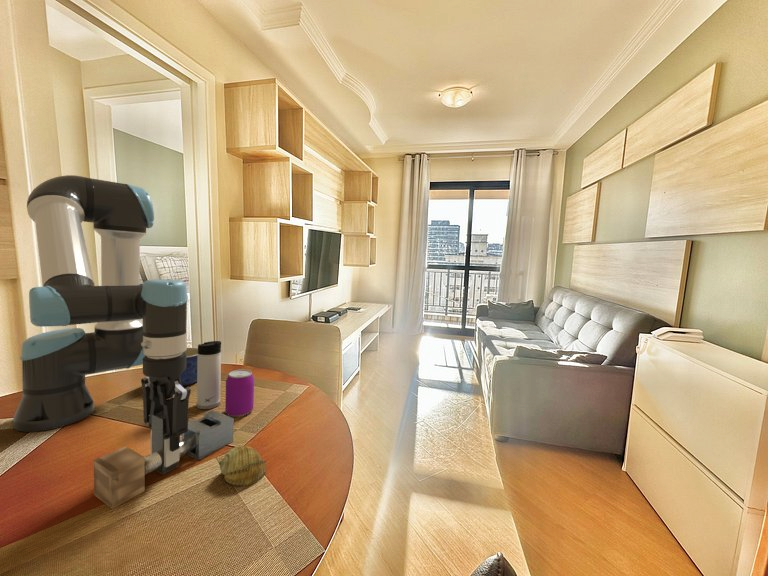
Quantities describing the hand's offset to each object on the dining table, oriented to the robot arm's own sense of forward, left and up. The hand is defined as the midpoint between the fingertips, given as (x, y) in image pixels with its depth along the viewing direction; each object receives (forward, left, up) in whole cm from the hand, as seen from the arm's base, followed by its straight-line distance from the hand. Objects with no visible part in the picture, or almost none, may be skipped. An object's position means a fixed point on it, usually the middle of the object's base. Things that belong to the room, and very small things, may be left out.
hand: (165, 459), depth 68 cm
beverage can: (-8, +25, -2) cm, 27 cm away
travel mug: (-19, +23, -2) cm, 30 cm away
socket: (0, -8, -2) cm, 8 cm away
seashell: (+15, +7, -3) cm, 17 cm away
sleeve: (0, +10, -2) cm, 10 cm away
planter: (-42, +29, -2) cm, 51 cm away
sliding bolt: (0, +1, -2) cm, 2 cm away
